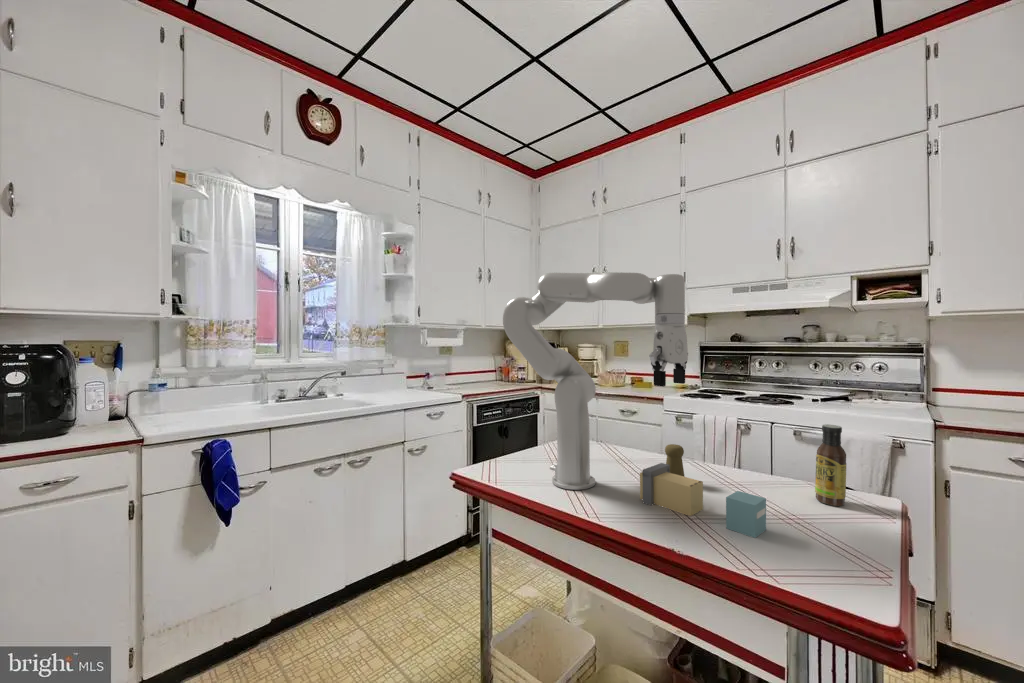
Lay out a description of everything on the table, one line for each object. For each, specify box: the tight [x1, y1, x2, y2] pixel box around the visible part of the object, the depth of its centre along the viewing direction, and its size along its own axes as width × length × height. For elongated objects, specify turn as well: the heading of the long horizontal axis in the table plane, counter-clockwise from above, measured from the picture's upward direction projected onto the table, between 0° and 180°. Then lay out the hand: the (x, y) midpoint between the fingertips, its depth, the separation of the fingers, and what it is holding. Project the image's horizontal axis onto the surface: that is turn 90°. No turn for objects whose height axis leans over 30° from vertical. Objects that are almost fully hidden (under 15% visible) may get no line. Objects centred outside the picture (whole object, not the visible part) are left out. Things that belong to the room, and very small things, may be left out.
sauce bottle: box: [814, 423, 847, 507], centre depth 108 cm, size 6×6×20 cm
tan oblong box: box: [639, 462, 704, 517], centre depth 108 cm, size 14×9×9 cm, turn 39°
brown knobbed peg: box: [664, 443, 686, 477], centre depth 124 cm, size 6×6×11 cm
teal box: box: [725, 490, 767, 539], centre depth 94 cm, size 6×6×7 cm
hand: (669, 384), depth 113 cm, fingers open, 9 cm apart
